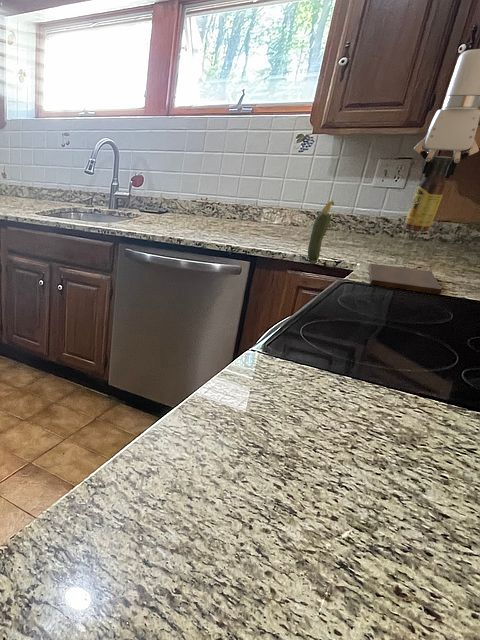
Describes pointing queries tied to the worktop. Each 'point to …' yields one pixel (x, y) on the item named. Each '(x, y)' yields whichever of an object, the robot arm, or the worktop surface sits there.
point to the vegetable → (319, 233)
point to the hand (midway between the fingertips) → (436, 176)
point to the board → (404, 278)
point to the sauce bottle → (428, 196)
